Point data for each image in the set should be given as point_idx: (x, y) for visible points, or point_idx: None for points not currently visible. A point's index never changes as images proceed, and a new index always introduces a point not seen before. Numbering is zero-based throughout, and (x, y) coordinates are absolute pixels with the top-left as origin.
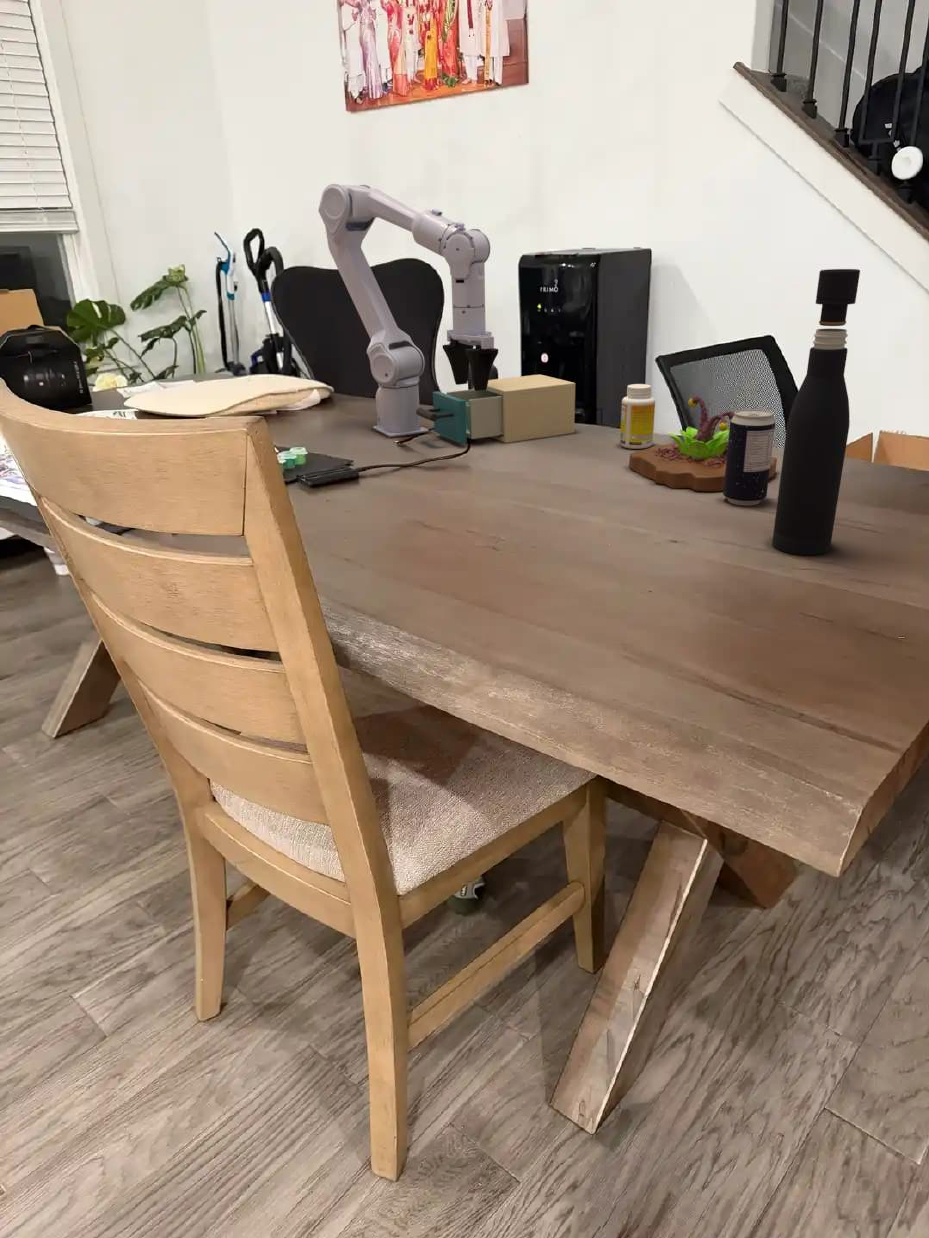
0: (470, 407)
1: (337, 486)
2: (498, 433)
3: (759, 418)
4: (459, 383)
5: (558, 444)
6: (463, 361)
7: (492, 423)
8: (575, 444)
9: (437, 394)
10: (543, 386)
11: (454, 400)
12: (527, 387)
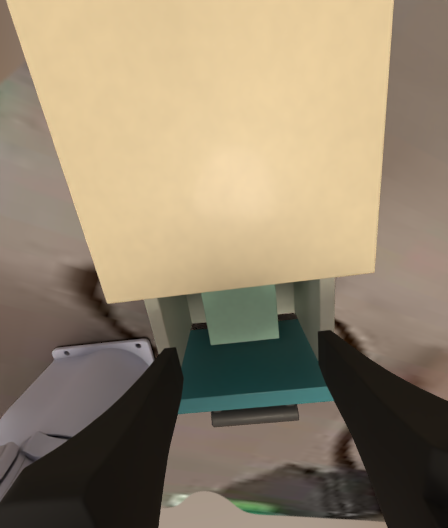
0: None
1: None
2: None
3: None
4: (180, 374)
5: (398, 111)
6: (152, 432)
7: None
8: (428, 63)
9: (197, 411)
10: (383, 60)
11: (314, 401)
12: (355, 152)
